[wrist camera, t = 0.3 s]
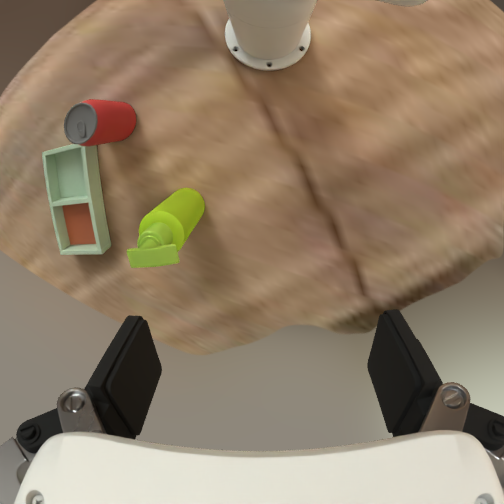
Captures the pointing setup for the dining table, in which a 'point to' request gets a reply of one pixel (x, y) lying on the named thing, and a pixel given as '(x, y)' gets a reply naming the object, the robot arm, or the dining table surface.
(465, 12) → the dining table surface
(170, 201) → the soap dispenser
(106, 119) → the beer can
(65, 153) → the divided tray
